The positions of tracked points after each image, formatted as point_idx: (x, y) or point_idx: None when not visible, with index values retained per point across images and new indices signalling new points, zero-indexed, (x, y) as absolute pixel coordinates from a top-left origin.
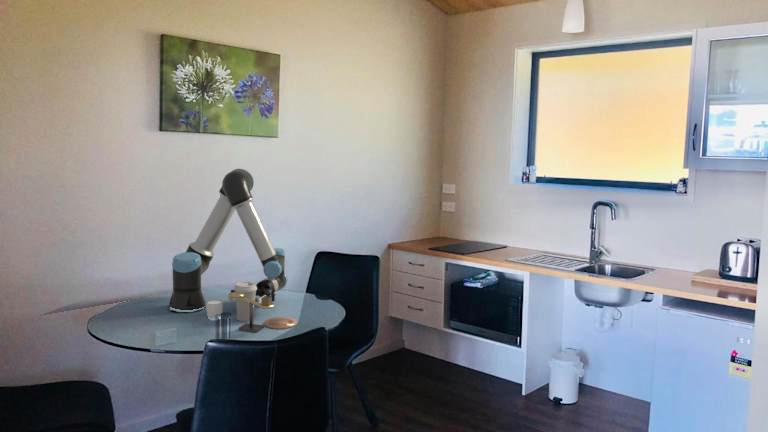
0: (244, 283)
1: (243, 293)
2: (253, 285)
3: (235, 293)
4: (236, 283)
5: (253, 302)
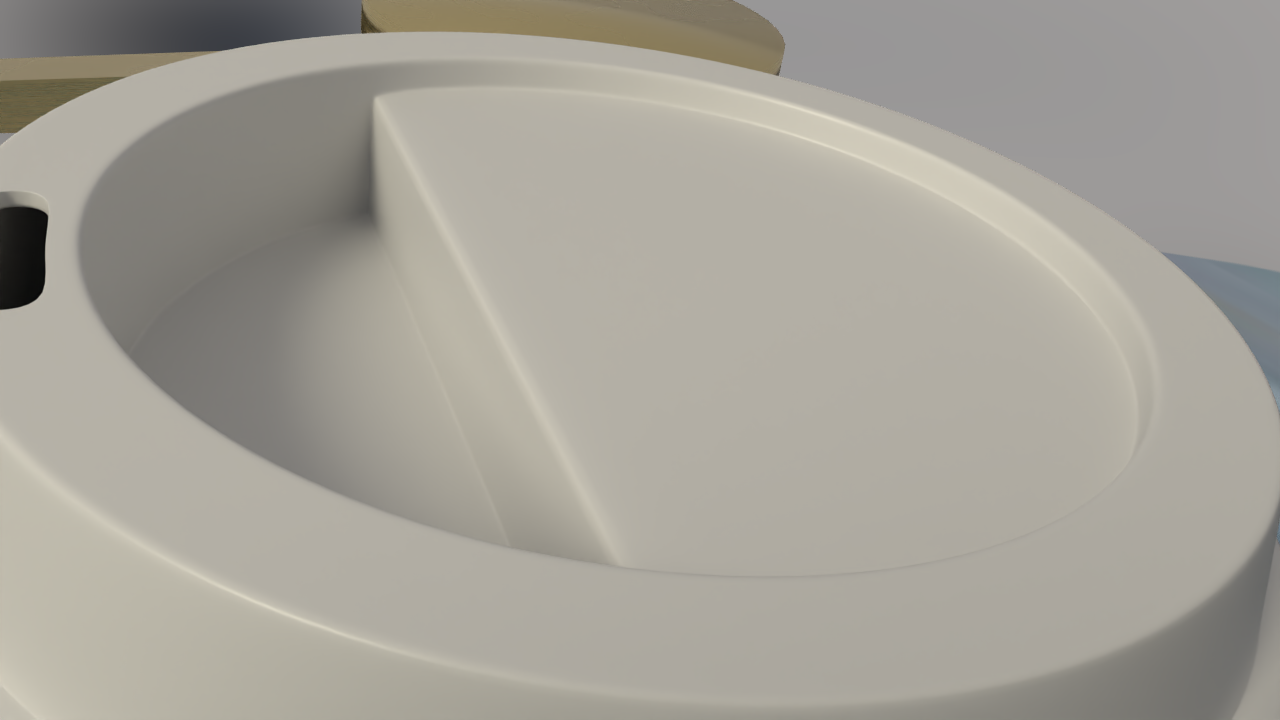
0: (835, 423)
1: (405, 14)
2: (74, 101)
3: (631, 27)
4: (1186, 285)
5: (83, 66)
